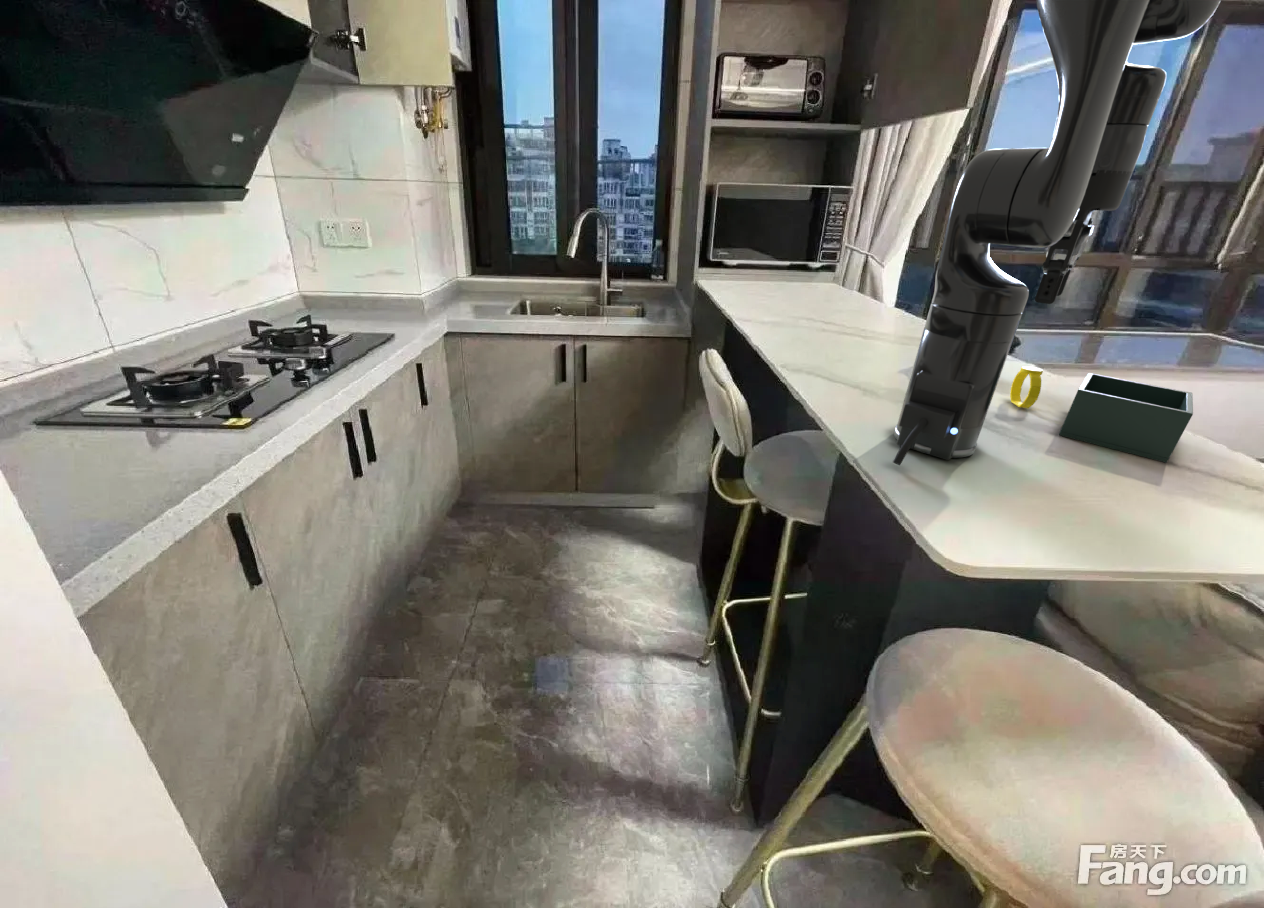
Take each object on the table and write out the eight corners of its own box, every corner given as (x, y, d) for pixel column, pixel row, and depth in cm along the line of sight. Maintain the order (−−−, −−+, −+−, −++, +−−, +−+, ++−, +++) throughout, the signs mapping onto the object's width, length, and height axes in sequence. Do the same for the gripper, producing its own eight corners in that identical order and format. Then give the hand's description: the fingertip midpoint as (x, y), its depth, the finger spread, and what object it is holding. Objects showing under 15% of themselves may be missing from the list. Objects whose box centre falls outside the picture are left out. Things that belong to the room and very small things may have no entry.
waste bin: (1166, 462, 67) (1193, 413, 64) (1058, 435, 74) (1078, 389, 71) (1168, 437, 75) (1192, 392, 72) (1070, 414, 81) (1088, 372, 78)
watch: (1037, 413, 81) (1052, 375, 79) (1017, 411, 82) (1031, 373, 79) (1020, 400, 87) (1034, 364, 84) (1001, 398, 87) (1014, 362, 84)
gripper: (1066, 170, 76) (1024, 289, 83) (1053, 166, 66) (1007, 301, 73) (1135, 171, 71) (1085, 296, 79) (1132, 166, 62) (1075, 310, 69)
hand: (1047, 298), depth 76 cm, fingers open, 8 cm apart
